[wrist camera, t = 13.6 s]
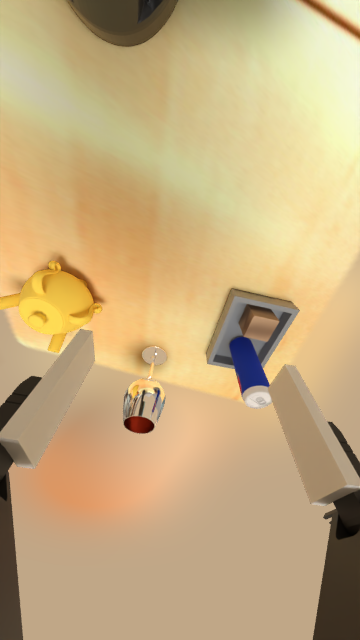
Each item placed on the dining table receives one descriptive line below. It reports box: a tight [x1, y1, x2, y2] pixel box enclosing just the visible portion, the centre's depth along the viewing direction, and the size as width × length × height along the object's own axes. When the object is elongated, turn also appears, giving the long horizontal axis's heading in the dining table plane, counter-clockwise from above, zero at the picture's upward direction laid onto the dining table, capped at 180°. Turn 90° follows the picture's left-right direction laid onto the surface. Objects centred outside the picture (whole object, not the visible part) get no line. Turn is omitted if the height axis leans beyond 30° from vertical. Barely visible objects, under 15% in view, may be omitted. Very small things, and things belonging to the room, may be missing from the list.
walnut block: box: [239, 304, 280, 342], centre depth 40 cm, size 5×5×5 cm
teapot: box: [0, 261, 102, 353], centre depth 37 cm, size 14×14×11 cm
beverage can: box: [229, 337, 272, 408], centre depth 40 cm, size 5×5×15 cm
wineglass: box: [123, 346, 167, 434], centre depth 43 cm, size 8×8×18 cm
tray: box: [206, 289, 300, 369], centre depth 43 cm, size 18×13×4 cm
